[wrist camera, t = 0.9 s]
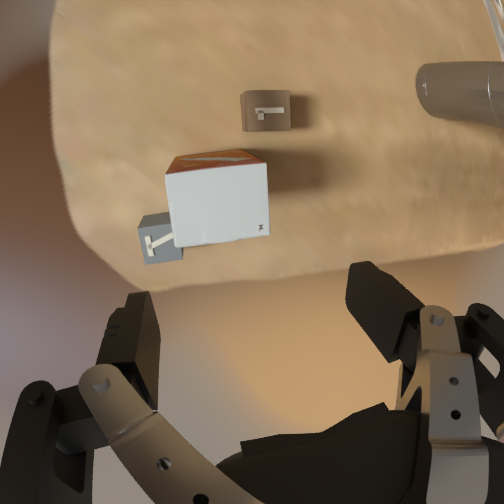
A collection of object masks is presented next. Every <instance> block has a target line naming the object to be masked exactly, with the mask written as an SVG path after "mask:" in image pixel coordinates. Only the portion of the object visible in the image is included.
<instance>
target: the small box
mask: <svg viewBox="0 0 504 504" xmlns="http://www.w3.org/2000/svg"><path fill="white" fill-rule="evenodd" d="M165 183H166V190H167V198H168V205H169V212H170V219H171V226H172V233H173V239H174V245H175V247H177V248H181V247H189V246H197V245H205V244H213V243H224V242H230V241H236V240H241V239H247V238H254V237H261V236H268V235H270V234H271V232H270V218H269V201H268V183H267V163H266V162H264V161H262V160H260V159H258V158H257V157H255V156H253V155H251V154H249V153H247V152H246V151H244V150H242V149H235V150H228V151H220V152H211V153H203V154H194V155H186V156H178V157H175V158H174V160H173V161H172V163H171V165H170V167H169V168H168V170H167V172H166V174H165Z"/></svg>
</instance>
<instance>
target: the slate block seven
mask: <svg viewBox="0 0 504 504" xmlns="http://www.w3.org/2000/svg"><path fill="white" fill-rule="evenodd" d="M138 233H139V238H140V242H141V247H142V252H143V256H144V261H145V265H146V264H153V263H161V262H168V261H176V260H183V247H181V248H177V247H175V245H174V239H173V233H172V226H171V219H170V212H168V213H161V214H154V215H147V216H143V218H142V220H141V222H140V224H139V226H138Z"/></svg>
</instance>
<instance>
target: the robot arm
mask: <svg viewBox="0 0 504 504" xmlns="http://www.w3.org/2000/svg"><path fill="white" fill-rule="evenodd" d="M416 88H417V93H418V97H419V99H420V102H421V104H422V105H423V107H424V108H425V110H426V111H427V112H428V113H429V114H431V115H433V116H435V117H441V118H449V119H455V120H462V121H468V122H474V123H480V124H485V125H490V126H495V127H500V128H504V62H500V61H461V62H440V63H428V64H425V65H423V66H422V67H421V68H420V69H419V71H418V73H417V78H416ZM345 300H346V305H347V308H348V310H349V311H350V313H351V314H352V315H353V317H354V318H355V319H356V321H357V322H358V323H359V325H360V326H361V327H362V329H363V330H364V331H365V332H366V334H367V335H368V336H369V338H370V339H371V340H372V342H373V343H374V344H375V346H376V347H377V348H378V350H379V351H380V352H381V353H382V355H383V356H384V358H385V359H386V360H387V362H388V363H390V362H393V361H396V360H398V359H400V360H401V361H402V363H401V365H400V368H399V380H398V390H397V400H396V407H395V410H388V408H387V406H386V405H385V403H384V402H382V403H380V404H377V405H375V406H373V407H370V408H367V409H364V410H361V411H359V412H356V413H353V414H351V415H350V416H348V417H347V418H345V419H343V420H342V421H340V422H339V423H337V424H335V425H334V426H332V427H330V428H329V429H327V430H325V431H323V432H320V433H306V434H278V435H274V436H269V437H264V438H259V439H254V440H247V441H241V442H240V444H241V449H242V451H241V452H238V453H236V454H233V455H232V456H230V457H228V458H226V459H224V460H223V461H221V462H220V463H219V464H217V465H216V466H214V465H213V464H212V463H211V462H210V461H208V460H207V459H206V458H205V457H204V456H203V455H202V454H201V453H199V452H198V451H197V450H196V449H195V448H194V447H193V446H192V445H191V444H190V443H189V442H188V441H187V440H186V439H185V438H184V437H183V436H181V434H180V433H179V432H178V431H177V430H176V429H175V428H174V427H173V426H172V425H171V424H170V423H169V422H168V421H167V420H166V419H165V418H164V417H163V416H162V415H161V414H160V413H159V412H157V411H155V412H153V410H158V377H159V376H158V375H159V356H160V342H161V338H160V329H159V325H158V321H157V317H156V314H155V310H154V306H153V303H152V299H151V295H150V293H149V291H145V292H136V293H129V294H128V297H127V301H126V304H125V307H123V308H117V309H116V310H115V311H114V312H113V314H112V315H111V316H110V317H109V320H108V323H107V329H106V330H105V334H104V337H103V340H102V343H101V347H100V350H99V354H98V358H97V361H96V365H95V366H93V367H91V368H89V369H87V370H86V371H85V372H84V373H83V374H82V376H81V377H80V379H79V383H78V385H76V386H73V387H69V388H65V389H61V390H58V391H56V390H55V389H54V387H53V386H52V385H51V384H50V383H49V382H47V381H35V382H32V383H30V384H29V385H28V386H26V387H25V388H24V389H23V391H22V392H21V394H20V397H19V399H18V402H17V405H16V408H15V412H14V415H13V418H12V421H11V425H10V428H9V432H8V436H7V439H6V444H5V448H4V452H3V456H2V461H1V466H0V504H92V480H93V477H92V476H93V461H94V449H97V448H101V447H105V446H108V445H110V447H111V448H112V450H113V451H114V452H115V454H116V455H117V457H118V458H119V460H120V461H121V462H122V464H123V465H124V466H125V468H126V469H127V470H128V471H129V473H130V474H131V476H132V477H133V478H134V479H135V481H136V482H137V483H138V484H139V486H140V487H141V488H142V489H143V491H144V492H145V493H146V494H147V495H148V496H149V497H150V499H151V500H152V501H153V502H154V503H155V504H504V319H503V318H501V317H500V316H499V315H498V314H497V313H496V312H495V311H494V310H493V309H491V308H490V307H488V306H486V305H484V304H480V303H474V304H471V305H470V306H469V308H468V311H467V313H466V315H465V316H455V317H454V316H453V315H452V314H451V313H450V312H449V311H448V310H446V309H445V308H443V307H440V306H435V305H429V306H425V305H424V304H423V303H422V302H421V301H420V300H418V299H417V298H416V297H415V296H414V295H413V294H412V293H411V292H410V291H409V290H408V289H406V288H405V287H404V286H403V285H402V284H400V283H399V282H398V281H397V280H396V279H395V278H394V277H393V276H392V275H389V274H388V273H385V272H383V271H381V270H380V269H378V268H377V267H376V266H375V265H374V264H373V263H372V262H370V261H363V262H357V263H352V264H351V265H350V268H349V274H348V282H347V289H346V298H345ZM484 347H486V348H487V350H489V352H490V353H491V354H492V355H493V356H494V357H495V358H496V359H497V360H498V362H499V364H500V372H499V374H498V376H497V377H496V379H495V378H494V376H493V375H492V374H491V373H490V372H489V371H488V369H487V368H486V367H485V366H484V365H483V364H482V363H481V361H480V360H479V356H480V355H481V353H482V351H483V349H484ZM480 415H481V416H482V418H483V419H484V420H485V422H486V423H487V425H488V426H489V427H490V429H491V430H492V432H493V433H494V435H495V436H496V437H497V441H496V440H492V439H490V438H487V437H483V436H481V426H480Z"/></svg>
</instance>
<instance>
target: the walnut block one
mask: <svg viewBox="0 0 504 504" xmlns="http://www.w3.org/2000/svg"><path fill="white" fill-rule="evenodd" d="M240 97H241V114H242V131H247V132H257V131H282V130H291V118H290V96H289V90H252V91H246V92H244V93H243V94H241V95H240Z"/></svg>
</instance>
